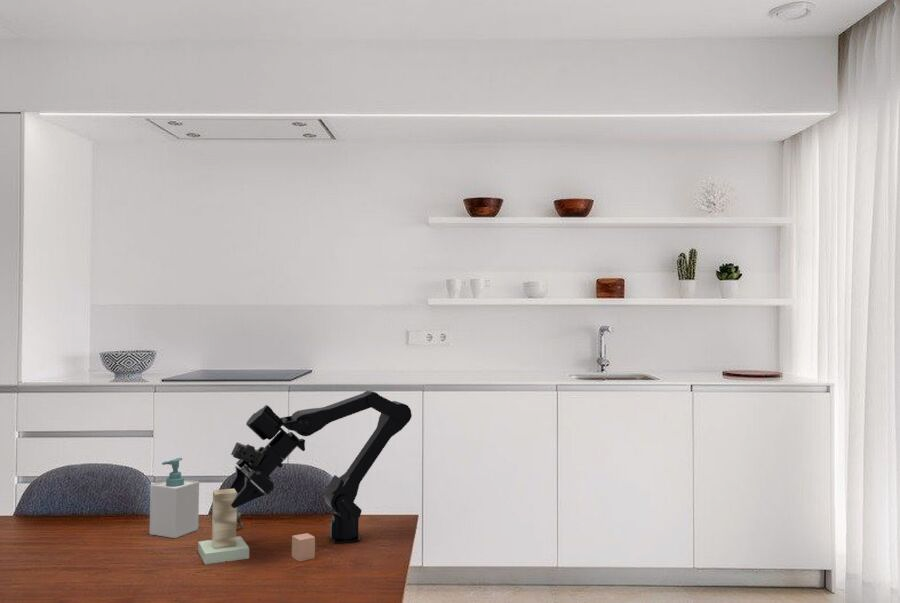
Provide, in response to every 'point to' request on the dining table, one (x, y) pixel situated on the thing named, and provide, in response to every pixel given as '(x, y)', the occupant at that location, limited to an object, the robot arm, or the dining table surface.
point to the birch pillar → (224, 518)
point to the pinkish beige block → (303, 547)
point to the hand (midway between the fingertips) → (229, 502)
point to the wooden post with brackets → (239, 521)
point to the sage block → (223, 551)
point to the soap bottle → (174, 504)
